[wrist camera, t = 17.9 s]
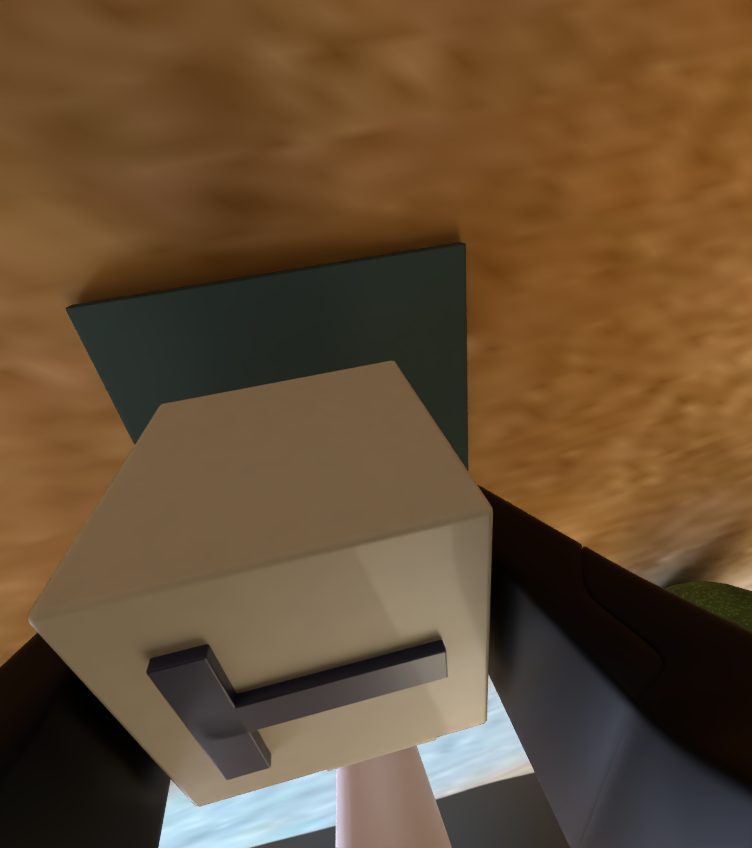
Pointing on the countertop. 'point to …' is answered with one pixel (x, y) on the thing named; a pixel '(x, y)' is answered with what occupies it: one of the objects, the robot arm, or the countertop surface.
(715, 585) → the avocado
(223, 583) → the tile
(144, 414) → the word mat
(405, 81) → the countertop surface
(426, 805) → the smoothie
